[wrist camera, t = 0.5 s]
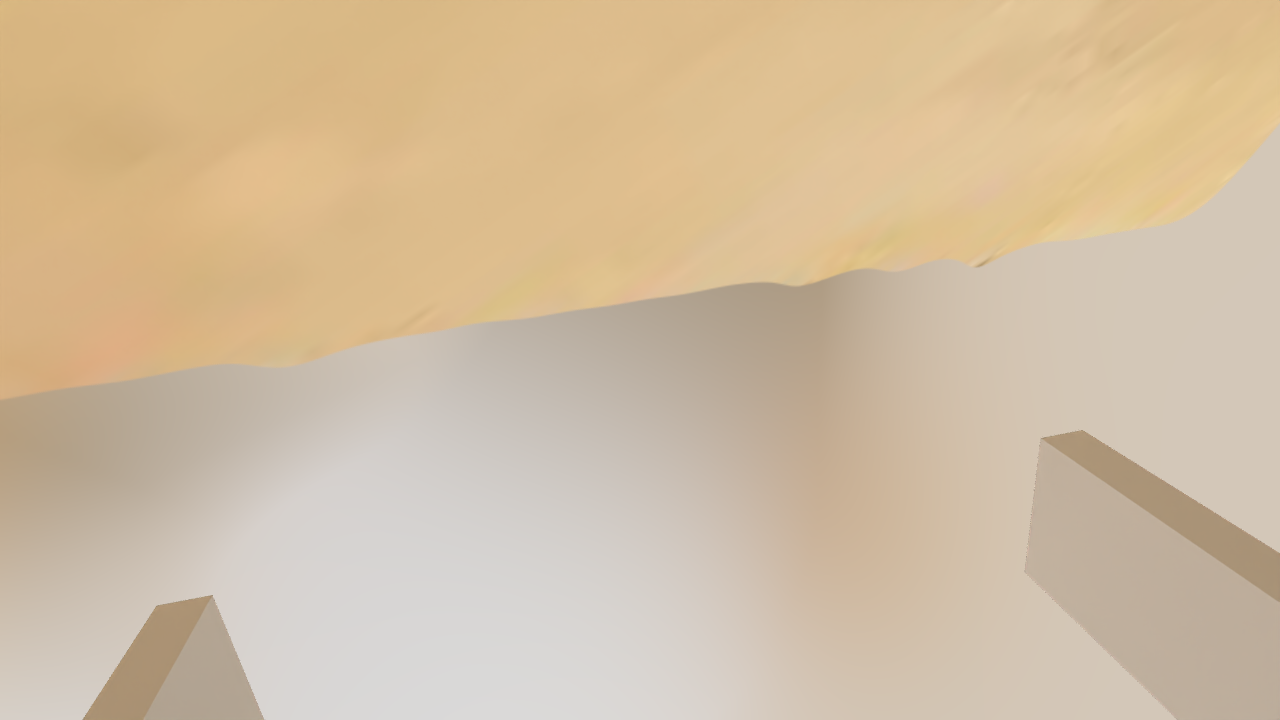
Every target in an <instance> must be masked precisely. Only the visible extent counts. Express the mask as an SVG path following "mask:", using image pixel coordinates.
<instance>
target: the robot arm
mask: <svg viewBox="0 0 1280 720" xmlns="http://www.w3.org/2000/svg"><path fill="white" fill-rule="evenodd" d="M1025 573H1026V574H1027V575H1028V576H1029V577H1031V579H1032V580H1033V581H1035V582H1036V583H1037V584H1038V585H1039V586H1040V587H1041V588H1042V589H1043V590H1044V591H1045V592H1046V593H1047V594H1048V595H1049V596H1050V597H1051V598H1052V599H1053V600H1054V601H1055V602H1056V603H1057V604H1058V605H1059V606H1060V607H1061V608H1062V609H1063V610H1065V611H1066V612H1067V613H1068V614H1069V615H1070V616H1071V617H1072V618H1073V619H1074V620H1075V621H1076V622H1077V623H1078V624H1079V625H1080V626H1081V627H1082V628H1083V629H1084V630H1085V631H1086V632H1087V633H1088V634H1089V635H1090V636H1091V637H1092V638H1093V639H1094V640H1096V641H1097V642H1098V643H1099V644H1100V645H1101V646H1102V647H1103V648H1104V649H1105V650H1106V651H1107V652H1108V653H1109V654H1110V655H1111V656H1112V657H1113V658H1114V659H1115V660H1116V661H1117V662H1118V663H1119V664H1120V665H1121V666H1122V667H1123V668H1125V669H1126V670H1127V671H1128V672H1129V673H1130V674H1131V675H1132V676H1133V677H1134V678H1135V679H1136V680H1137V681H1138V682H1139V683H1140V684H1141V685H1142V686H1143V687H1144V688H1145V689H1146V690H1147V691H1148V692H1149V693H1151V695H1152V696H1154V697H1155V699H1157V700H1158V701H1159V702H1160V703H1161V704H1162V705H1163V706H1164V707H1165V708H1166V709H1167V710H1168V711H1169V712H1170V713H1171V714H1172V715H1173V716H1174V717H1175V718H1176V719H1177V720H1280V553H1278V552H1277V551H1275V550H1274V549H1272V548H1270V547H1269V546H1267V545H1265V544H1264V543H1262V542H1261V541H1259V540H1257V539H1256V538H1254V537H1253V536H1251V535H1250V534H1248V533H1246V532H1245V531H1243V530H1242V529H1240V528H1238V527H1237V526H1235V525H1234V524H1232V523H1230V522H1229V521H1227V520H1226V519H1224V518H1222V517H1221V516H1219V515H1218V514H1216V513H1214V512H1213V511H1211V510H1210V509H1208V508H1206V507H1205V506H1203V505H1202V504H1200V503H1198V502H1197V501H1195V500H1194V499H1192V498H1190V497H1189V496H1187V495H1185V494H1184V493H1182V492H1181V491H1179V490H1177V489H1176V488H1174V487H1173V486H1171V485H1169V484H1168V483H1166V482H1165V481H1163V480H1161V479H1160V478H1158V477H1157V476H1155V475H1153V474H1152V473H1150V472H1149V471H1147V470H1145V469H1144V468H1142V467H1141V466H1139V465H1137V464H1136V463H1134V462H1133V461H1131V460H1129V459H1128V458H1126V457H1125V456H1123V455H1121V454H1120V453H1118V452H1117V451H1115V450H1113V449H1111V448H1110V447H1108V446H1107V445H1105V444H1104V443H1102V442H1101V441H1099V440H1097V439H1096V438H1094V437H1093V436H1091V435H1089V434H1088V433H1086V432H1085V431H1083V430H1081V431H1076V432H1070V433H1065V434H1060V435H1055V436H1050V437H1044V438H1041V440H1040V448H1039V456H1038V464H1037V473H1036V481H1035V490H1034V498H1033V506H1032V514H1031V523H1030V532H1029V540H1028V548H1027V556H1026V564H1025ZM83 720H264V719H263V716H262V714H261V711H260V709H259V706H258V704H257V702H256V699H255V697H254V694H253V692H252V689H251V687H250V685H249V682H248V680H247V677H246V675H245V673H244V670H243V668H242V665H241V663H240V660H239V658H238V656H237V653H236V651H235V649H234V646H233V644H232V641H231V639H230V636H229V634H228V632H227V629H226V627H225V624H224V622H223V620H222V617H221V615H220V612H219V610H218V607H217V605H216V603H215V600H214V598H213V595H211V596H206V597H201V598H195V599H190V600H185V601H179V602H174V603H169V604H163V605H158V606H156V608H155V609H154V611H153V612H152V614H151V615H150V617H149V618H148V620H147V621H146V623H145V624H144V626H143V628H142V629H141V631H140V632H139V634H138V635H137V637H136V639H135V640H134V641H133V643H132V645H131V646H130V648H129V649H128V651H127V652H126V654H125V655H124V657H123V658H122V660H121V661H120V663H119V665H118V666H117V668H116V669H115V671H114V672H113V674H112V675H111V677H110V678H109V680H108V681H107V683H106V685H105V686H104V688H103V689H102V691H101V692H100V694H99V695H98V697H97V698H96V700H95V701H94V703H93V705H92V706H91V708H90V709H89V711H88V712H87V714H86V715H85V717H84V719H83Z"/></svg>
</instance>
